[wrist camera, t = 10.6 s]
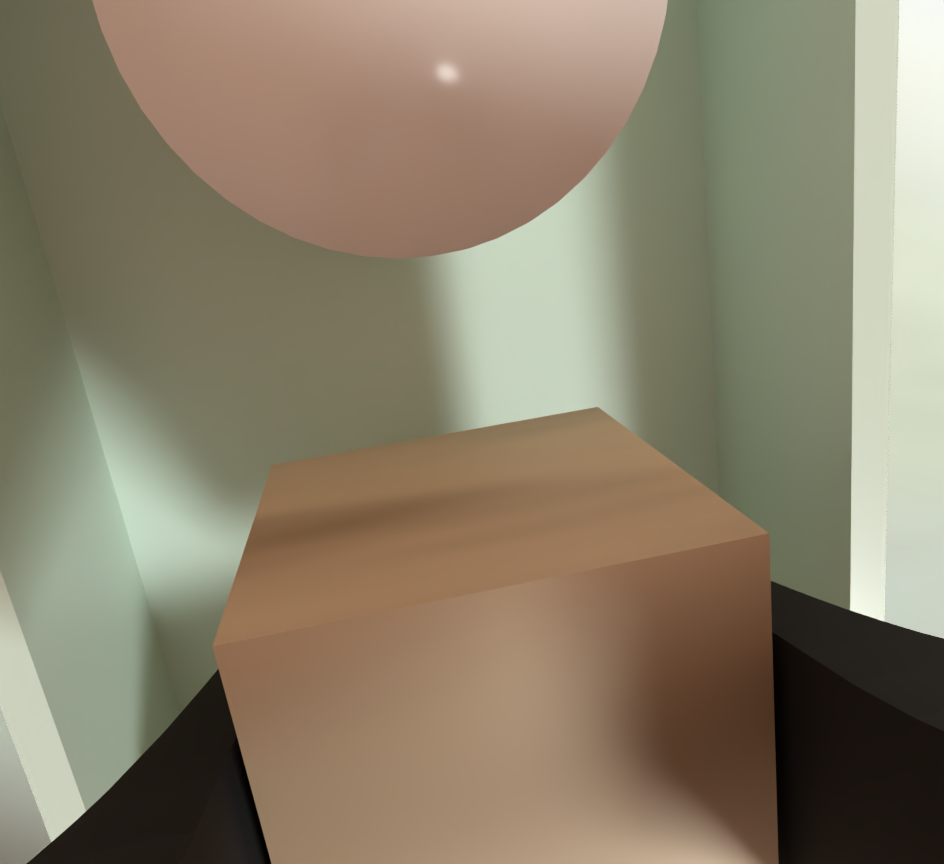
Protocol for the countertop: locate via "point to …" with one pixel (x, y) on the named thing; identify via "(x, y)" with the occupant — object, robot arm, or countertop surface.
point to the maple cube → (504, 655)
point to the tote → (419, 345)
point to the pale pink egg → (387, 107)
